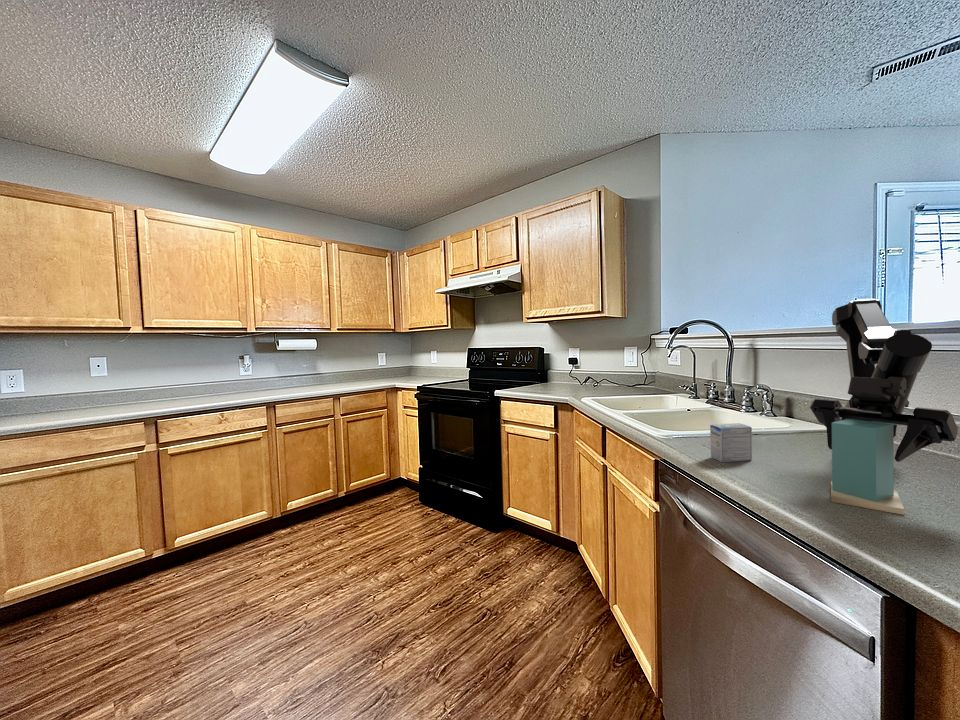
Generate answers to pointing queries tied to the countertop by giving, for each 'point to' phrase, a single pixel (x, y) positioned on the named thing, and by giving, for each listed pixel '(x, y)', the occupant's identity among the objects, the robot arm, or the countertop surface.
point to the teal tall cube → (863, 459)
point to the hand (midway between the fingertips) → (861, 453)
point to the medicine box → (731, 442)
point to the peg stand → (870, 502)
